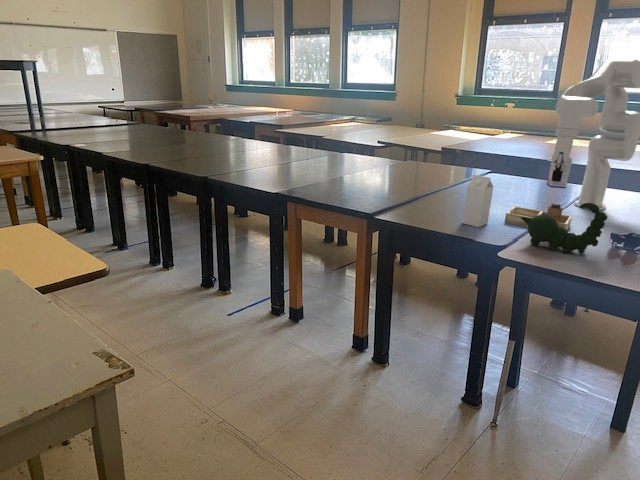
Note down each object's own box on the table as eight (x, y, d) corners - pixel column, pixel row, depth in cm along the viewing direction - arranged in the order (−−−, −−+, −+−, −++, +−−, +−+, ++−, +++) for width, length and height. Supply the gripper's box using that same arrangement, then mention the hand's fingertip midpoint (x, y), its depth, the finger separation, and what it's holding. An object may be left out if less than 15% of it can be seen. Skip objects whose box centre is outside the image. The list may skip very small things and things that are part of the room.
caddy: (512, 214, 202) (516, 194, 198) (570, 225, 190) (574, 203, 187) (504, 222, 191) (508, 200, 188) (564, 233, 180) (569, 210, 177)
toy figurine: (593, 257, 163) (517, 235, 175) (612, 204, 156) (532, 185, 168) (589, 265, 156) (511, 242, 168) (609, 211, 148) (526, 190, 160)
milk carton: (471, 219, 193) (477, 173, 187) (487, 224, 189) (495, 176, 182) (461, 223, 188) (468, 175, 182) (478, 227, 184) (486, 179, 177)
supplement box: (566, 188, 183) (572, 158, 179) (549, 187, 184) (556, 157, 180) (561, 185, 188) (568, 156, 184) (545, 184, 189) (551, 155, 185)
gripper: (559, 129, 188) (550, 174, 194) (552, 133, 174) (543, 181, 180) (580, 131, 184) (570, 177, 190) (575, 136, 170) (565, 185, 176)
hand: (557, 179), depth 185 cm, fingers closed on supplement box, 7 cm apart
